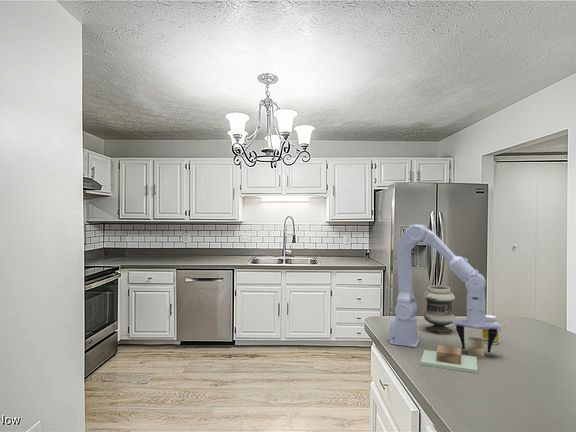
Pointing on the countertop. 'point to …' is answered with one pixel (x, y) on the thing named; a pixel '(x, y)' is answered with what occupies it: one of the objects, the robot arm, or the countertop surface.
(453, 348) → the base block
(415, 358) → the countertop surface
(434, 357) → the baseplate
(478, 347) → the maple brick
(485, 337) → the supplement bottle
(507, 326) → the countertop surface
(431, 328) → the apothecary jar
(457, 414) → the countertop surface
